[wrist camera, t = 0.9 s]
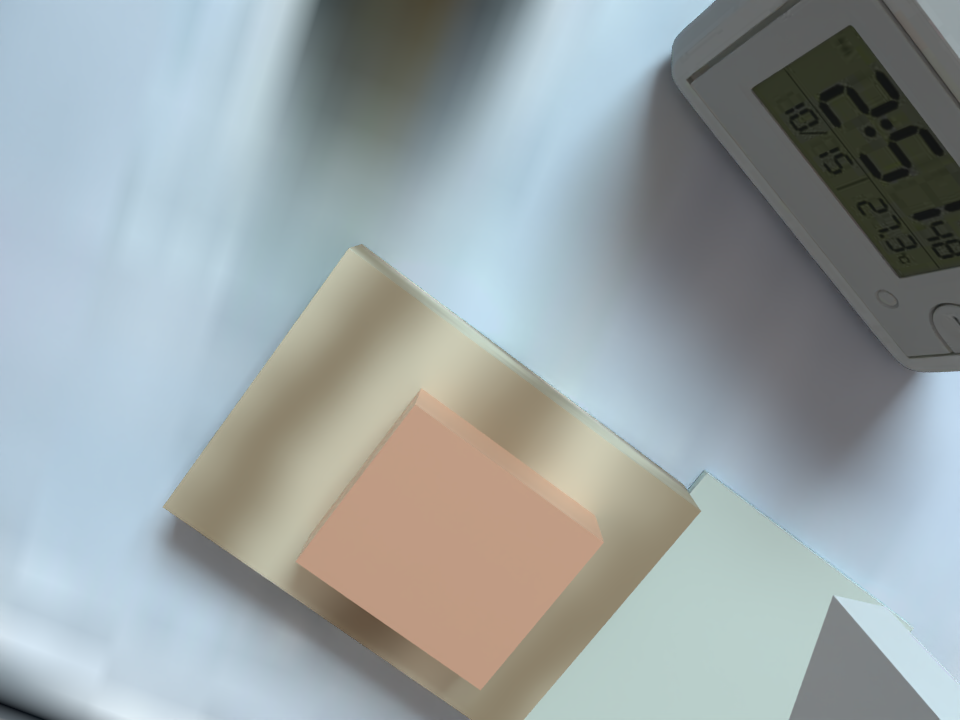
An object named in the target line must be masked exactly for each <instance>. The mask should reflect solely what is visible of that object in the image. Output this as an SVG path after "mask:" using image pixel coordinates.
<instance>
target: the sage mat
mask: <svg viewBox="0 0 960 720" xmlns="http://www.w3.org/2000/svg"><path fill="white" fill-rule="evenodd" d="M687 491H688V492H689V494H690V495H691V497H692V498H693V500H694V501H695V503H696V504H697V506H698V507H699V509H700V510H701V512H700V513H699V514H698V516H697V517H696V518H695V519H694V520H693V521H692V523H691V524H690V525H689V526H688V527H687V529H686V530H685V531H684V532H683V533H682V534H681V536H680V537H679V538H678V539H677V540H676V541H675V543H674V544H673V545H672V546H671V547H670V548H669V550H668V551H667V552H666V553H665V554H664V556H663V557H662V558H661V559H660V560H659V561H658V563H657V564H656V565H655V566H654V567H653V568H652V570H651V571H650V572H649V573H648V574H647V576H646V577H645V578H644V579H643V580H642V581H641V583H640V584H639V585H638V586H637V587H636V588H635V590H634V591H633V592H632V593H631V594H630V595H629V597H628V598H627V599H626V600H625V601H624V603H623V604H622V605H621V606H620V607H619V608H618V610H617V611H616V612H615V613H614V614H613V615H612V617H611V618H610V619H609V620H608V621H607V623H606V624H605V625H604V626H603V627H602V628H601V630H600V631H599V632H598V633H597V634H596V635H595V637H594V638H593V639H592V640H591V641H590V642H589V644H588V645H587V646H586V647H585V648H584V650H583V651H582V652H581V653H580V654H579V655H578V657H577V658H576V659H575V660H574V661H573V662H572V664H571V665H570V666H569V667H568V668H567V670H566V671H565V672H564V673H563V674H562V675H561V677H560V678H559V679H558V680H557V681H556V682H555V684H554V685H553V686H552V687H551V688H550V690H549V691H548V692H547V693H546V694H545V695H544V697H543V698H542V699H541V700H540V701H539V702H538V704H537V705H536V706H535V707H534V708H533V709H532V711H531V712H530V713H529V714H528V715H527V717H526V718H525V719H524V720H789V718H790V715H791V712H792V710H793V707H794V704H795V701H796V698H797V695H798V693H799V690H800V687H801V684H802V681H803V679H804V676H805V673H806V670H807V667H808V665H809V662H810V659H811V656H812V653H813V650H814V648H815V645H816V642H817V639H818V636H819V634H820V631H821V628H822V625H823V622H824V620H825V617H826V614H827V611H828V608H829V605H830V603H831V600H832V597H833V595H835V596H840V597H844V598H848V599H853V600H857V601H862V602H866V603H870V604H875V605H879V606H884V607H886V606H885V605H884V604H882V603H881V602H880V601H878V600H877V599H876V598H874V597H873V596H872V595H870V594H869V593H868V592H866V591H865V590H864V589H862V588H861V587H860V586H858V585H857V584H856V583H854V582H853V581H852V580H850V579H849V578H848V577H846V576H845V575H844V574H842V573H841V572H840V571H838V570H837V569H836V568H834V567H833V566H832V565H831V564H829V563H828V562H827V561H825V560H824V559H823V558H821V557H820V556H819V555H817V554H816V553H815V552H813V551H812V550H811V549H809V548H808V547H807V546H805V545H804V544H803V543H801V542H800V541H799V540H797V539H796V538H795V537H793V536H792V535H791V534H789V533H788V532H787V531H785V530H784V529H783V528H781V527H780V526H779V525H777V524H776V523H775V522H773V521H772V520H771V519H769V518H768V517H767V516H765V515H764V514H763V513H761V512H760V511H759V510H757V509H756V508H755V507H753V506H752V505H751V504H749V503H748V502H747V501H745V500H744V499H743V498H741V497H740V496H739V495H737V494H736V493H735V492H733V491H732V490H731V489H729V488H728V487H727V486H725V485H724V484H723V483H722V482H720V481H719V480H718V479H716V478H715V477H714V476H712V475H711V474H710V473H708V472H707V471H706V470H704V471H703V473H702V474H701V475H700V476H699V477H698V479H697V480H696V481H695V482H694V483H693V485H692V486H691V487H690V488H689V489H688V490H687ZM886 608H887V609H888V610H889V611H890V612H891V613H892V614H893V615H894V616H895V617H896V618H897V619H898V620H899V621H900V622H901V623H902V624H903V625H904V626H905V627H906V628H907V629H908V630H909V631H910V632H911V631H912V630H913V629H914V628H913V627H912V626H911V625H910V624H909V623H908V622H906V621H905V620H904V619H902V618H901V617H900V616H898V615H897V614H896V613H894V612H893V611H892V610H890V609H889V608H888V607H886Z"/></svg>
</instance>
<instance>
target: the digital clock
mask: <svg viewBox="0 0 960 720" xmlns="http://www.w3.org/2000/svg"><path fill="white" fill-rule="evenodd" d="M671 69H672V77H673V80H674V82H675V83H676V85H677V87H678V88H679V90H680V91H681V92H682V94H683V95H684V97H685V98H686V99H687V100H688V102H689V103H690V104H691V106H692V107H693V108H694V110H695V111H696V112H697V113H698V115H699V116H700V117H701V119H702V120H703V121H704V122H705V124H706V125H707V126H708V127H709V129H710V130H711V131H712V132H713V134H714V135H715V136H716V138H717V139H718V140H719V141H720V143H721V144H722V145H723V146H724V147H725V149H726V150H727V151H728V152H729V154H730V155H731V156H732V157H733V159H734V160H735V161H736V162H737V164H738V165H739V166H740V167H741V169H742V170H743V171H744V172H745V174H746V175H747V176H748V177H749V179H750V180H751V181H752V182H753V184H754V185H755V186H756V187H757V189H758V190H759V191H760V192H761V194H762V195H763V196H764V197H765V199H766V200H767V201H768V202H769V204H770V205H771V206H772V207H773V209H774V210H775V211H776V212H777V214H778V215H779V216H780V217H781V219H782V220H783V221H784V222H785V224H786V225H787V226H788V227H789V229H790V230H791V231H792V232H793V234H794V235H795V236H796V237H797V239H798V240H799V241H800V242H801V244H802V245H803V246H804V247H805V249H806V250H807V251H808V252H809V254H810V255H811V256H812V257H813V259H814V260H815V261H816V262H817V264H818V265H819V266H820V267H821V269H822V270H823V271H824V272H825V274H826V275H827V276H828V277H829V279H830V280H831V281H832V282H833V284H834V285H835V286H836V287H837V289H838V290H839V291H840V292H841V294H842V295H843V296H844V297H845V298H846V300H847V301H848V302H849V303H850V305H851V306H852V307H853V308H854V310H855V311H856V312H857V313H858V315H859V316H860V317H861V318H862V320H863V321H864V322H865V323H866V325H867V326H868V327H869V328H870V330H871V331H872V332H873V333H874V334H875V336H876V337H877V338H878V339H879V340H880V342H881V343H882V344H883V345H884V346H885V348H886V349H887V350H888V351H889V352H890V353H891V355H892V356H893V357H894V358H895V359H896V360H897V361H898V362H899V363H900V364H901V365H903V366H904V367H906V368H908V369H911V370H913V371H918V372H950V371H960V0H716V1H715V2H714V3H713V4H711V5H710V6H709V7H708V8H707V9H706V10H705V11H704V12H702V13H701V14H700V15H699V16H698V17H697V18H696V19H695V20H694V21H692V22H691V23H690V24H689V25H688V26H687V27H686V28H685V29H684V30H683V31H682V32H681V33H680V34H679V35H678V36H677V37H676V39H675V40H674V43H673V45H672V63H671Z"/></svg>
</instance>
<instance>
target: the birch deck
mask: <svg viewBox="0 0 960 720" xmlns="http://www.w3.org/2000/svg"><path fill="white" fill-rule="evenodd" d="M421 388H422V389H423V390H425V391H426V392H427V393H429V394H430V395H431V396H433V397H434V398H436V399H437V400H438V401H440V402H441V403H442V404H444V405H445V406H446V407H448V408H449V409H451V410H452V411H453V412H455V413H456V414H457V415H459V416H460V417H461V418H463V419H464V420H466V421H467V422H468V423H470V424H471V425H472V426H474V427H475V428H477V429H478V430H479V431H481V432H482V433H483V434H485V435H486V436H487V437H489V438H490V439H492V440H493V441H494V442H496V443H497V444H498V445H500V446H501V447H502V448H504V449H505V450H507V451H508V452H509V453H511V454H512V455H513V456H515V457H516V458H517V459H519V460H520V461H522V462H523V463H524V464H526V465H527V466H528V467H530V468H531V469H532V470H534V471H535V472H537V473H538V474H539V475H541V476H542V477H543V478H545V479H546V480H547V481H549V482H550V483H552V484H553V485H554V486H556V487H557V488H558V489H560V490H561V491H562V492H564V493H565V494H567V495H568V496H569V497H571V498H572V499H573V500H575V501H576V502H577V503H579V504H580V505H582V506H583V507H584V508H586V509H587V510H588V511H590V512H591V513H592V514H594V515H595V516H596V519H597V522H598V525H599V528H600V532H601V535H602V538H603V541H604V543H603V544H602V545H601V547H600V548H599V549H598V550H597V551H596V553H595V554H594V555H593V556H592V557H591V559H590V560H589V561H588V562H587V563H586V565H585V566H584V567H583V568H582V569H581V571H580V572H579V573H578V574H577V575H576V577H575V578H574V579H573V580H572V581H571V583H570V584H569V585H568V586H567V587H566V589H565V590H564V591H563V592H562V593H561V595H560V596H559V597H558V598H557V599H556V601H555V602H554V603H553V604H552V605H551V607H550V608H549V609H548V610H547V611H546V613H545V614H544V615H543V616H542V617H541V619H540V620H539V621H538V622H537V623H536V625H535V626H534V627H533V628H532V629H531V631H530V632H529V633H528V634H527V635H526V637H525V638H524V639H523V640H522V641H521V643H520V644H519V645H518V646H517V647H516V649H515V650H514V651H513V652H512V653H511V655H510V656H509V657H508V658H507V659H506V661H505V662H504V663H503V664H502V665H501V667H500V668H499V669H498V670H497V671H496V673H495V674H494V675H493V676H492V677H491V679H490V680H489V681H488V682H487V683H486V685H485V686H484V687H483V688H482V689H481V690H479V689H478V688H476V687H475V686H474V685H472V684H471V683H469V682H468V681H466V680H465V679H463V678H462V677H461V676H459V675H458V674H456V673H455V672H453V671H452V670H450V669H449V668H448V667H446V666H445V665H443V664H442V663H440V662H439V661H438V660H436V659H435V658H433V657H432V656H430V655H429V654H427V653H426V652H425V651H423V650H422V649H420V648H419V647H417V646H416V645H415V644H413V643H412V642H410V641H409V640H407V639H406V638H404V637H403V636H402V635H400V634H399V633H397V632H396V631H394V630H393V629H391V628H390V627H389V626H387V625H386V624H384V623H383V622H381V621H380V620H379V619H377V618H376V617H374V616H373V615H371V614H370V613H368V612H367V611H366V610H364V609H363V608H361V607H360V606H358V605H357V604H356V603H354V602H353V601H351V600H350V599H348V598H347V597H345V596H344V595H343V594H341V593H340V592H338V591H337V590H335V589H334V588H332V587H331V586H330V585H328V584H327V583H325V582H324V581H322V580H321V579H320V578H318V577H317V576H315V575H314V574H312V573H311V572H309V571H308V570H307V569H305V568H304V567H302V566H301V565H299V564H298V563H297V562H296V560H297V558H298V556H299V554H300V552H301V551H302V549H303V547H304V545H305V543H306V541H307V540H308V538H309V536H310V534H311V533H312V531H313V530H314V529H315V527H316V526H317V525H318V524H319V522H320V521H321V520H322V518H323V517H324V516H325V514H326V513H327V512H328V510H329V509H330V508H331V506H332V505H333V504H334V502H335V501H336V500H337V499H338V497H339V496H340V495H341V493H342V492H343V491H344V489H345V488H346V487H347V485H348V484H349V483H350V481H351V480H352V479H353V477H354V476H355V475H356V473H357V472H358V471H359V470H360V468H361V467H362V466H363V464H364V463H365V462H366V460H367V459H368V458H369V456H370V455H371V454H372V452H373V451H374V450H375V448H376V447H377V446H378V445H379V443H380V442H381V441H382V439H383V438H384V437H385V435H386V434H387V433H388V431H389V430H390V429H391V427H392V426H393V425H394V423H395V422H396V421H397V420H398V418H399V417H400V416H401V414H402V413H403V412H404V410H405V409H406V408H407V406H408V405H409V404H410V402H411V401H412V400H413V398H414V397H415V396H416V394H417V393H418V392H419V391H420V389H421ZM163 508H165V509H166V510H168V511H169V512H170V513H172V514H173V515H175V516H176V517H178V518H179V519H181V520H182V521H184V522H185V523H186V524H188V525H189V526H191V527H192V528H194V529H195V530H197V531H198V532H199V533H201V534H202V535H204V536H205V537H207V538H208V539H210V540H211V541H213V542H214V543H215V544H217V545H218V546H220V547H221V548H223V549H224V550H226V551H227V552H228V553H230V554H231V555H233V556H234V557H236V558H237V559H239V560H240V561H242V562H243V563H244V564H246V565H247V566H249V567H250V568H252V569H253V570H255V571H256V572H257V573H259V574H260V575H262V576H263V577H265V578H266V579H268V580H269V581H271V582H272V583H273V584H275V585H276V586H278V587H279V588H281V589H282V590H284V591H285V592H286V593H288V594H289V595H291V596H292V597H294V598H295V599H297V600H298V601H300V602H301V603H302V604H304V605H305V606H307V607H308V608H310V609H311V610H313V611H314V612H315V613H317V614H318V615H320V616H321V617H323V618H324V619H326V620H327V621H329V622H330V623H331V624H333V625H334V626H336V627H337V628H339V629H340V630H342V631H343V632H344V633H346V634H347V635H349V636H350V637H352V638H353V639H355V640H356V641H358V642H359V643H360V644H362V645H363V646H365V647H366V648H368V649H369V650H371V651H372V652H373V653H375V654H376V655H378V656H379V657H381V658H382V659H384V660H385V661H387V662H388V663H389V664H391V665H392V666H394V667H395V668H397V669H398V670H400V671H401V672H402V673H404V674H405V675H407V676H408V677H410V678H411V679H413V680H414V681H416V682H417V683H418V684H420V685H421V686H423V687H424V688H426V689H427V690H429V691H430V692H431V693H433V694H434V695H436V696H437V697H439V698H440V699H442V700H443V701H445V702H446V703H447V704H449V705H450V706H452V707H453V708H455V709H456V710H458V711H459V712H460V713H462V714H463V715H465V716H466V717H468V718H469V719H471V720H524V719H525V718H526V717H527V715H528V714H529V713H530V712H531V711H532V709H533V708H534V707H535V706H536V705H537V704H538V702H539V701H540V700H541V699H542V698H543V697H544V695H545V694H546V693H547V692H548V691H549V690H550V688H551V687H552V686H553V685H554V684H555V682H556V681H557V680H558V679H559V678H560V677H561V675H562V674H563V673H564V672H565V671H566V670H567V668H568V667H569V666H570V665H571V664H572V662H573V661H574V660H575V659H576V658H577V657H578V655H579V654H580V653H581V652H582V651H583V650H584V648H585V647H586V646H587V645H588V644H589V642H590V641H591V640H592V639H593V638H594V637H595V635H596V634H597V633H598V632H599V631H600V630H601V628H602V627H603V626H604V625H605V624H606V623H607V621H608V620H609V619H610V618H611V617H612V615H613V614H614V613H615V612H616V611H617V610H618V608H619V607H620V606H621V605H622V604H623V603H624V601H625V600H626V599H627V598H628V597H629V595H630V594H631V593H632V592H633V591H634V590H635V588H636V587H637V586H638V585H639V584H640V583H641V581H642V580H643V579H644V578H645V577H646V576H647V574H648V573H649V572H650V571H651V570H652V568H653V567H654V566H655V565H656V564H657V563H658V561H659V560H660V559H661V558H662V557H663V556H664V554H665V553H666V552H667V551H668V550H669V548H670V547H671V546H672V545H673V544H674V543H675V541H676V540H677V539H678V538H679V537H680V536H681V534H682V533H683V532H684V531H685V530H686V529H687V527H688V526H689V525H690V524H691V523H692V521H693V520H694V519H695V518H696V517H697V516H698V514H699V513H700V512H701V510H700V509H699V507H698V506H697V504H696V503H695V501H694V500H693V498H692V497H691V495H690V494H689V492H688V491H687V489H686V488H685V486H684V485H683V484H682V483H680V482H679V481H678V480H676V479H675V478H674V477H672V476H671V475H670V474H668V473H667V472H666V471H664V470H663V469H662V468H660V467H659V466H658V465H656V464H655V463H654V462H652V461H651V460H650V459H648V458H647V457H646V456H644V455H643V454H642V453H640V452H639V451H638V450H636V449H635V448H634V447H632V446H631V445H630V444H628V443H627V442H626V441H624V440H623V439H622V438H620V437H619V436H618V435H616V434H615V433H614V432H612V431H611V430H610V429H608V428H607V427H606V426H604V425H603V424H602V423H600V422H599V421H598V420H596V419H595V418H594V417H592V416H591V415H590V414H588V413H587V412H586V411H584V410H583V409H582V408H580V407H579V406H578V405H576V404H575V403H573V402H572V401H571V400H569V399H568V398H567V397H565V396H564V395H563V394H561V393H560V392H559V391H557V390H556V389H555V388H553V387H552V386H551V385H549V384H548V383H547V382H545V381H544V380H543V379H541V378H540V377H539V376H537V375H536V374H535V373H533V372H532V371H531V370H529V369H528V368H527V367H525V366H524V365H523V364H521V363H520V362H519V361H517V360H516V359H515V358H513V357H512V356H511V355H509V354H508V353H507V352H505V351H504V350H503V349H501V348H500V347H499V346H497V345H496V344H495V343H493V342H492V341H491V340H489V339H488V338H487V337H485V336H484V335H483V334H481V333H480V332H479V331H477V330H476V329H475V328H473V327H472V326H470V325H469V324H468V323H466V322H465V321H464V320H462V319H461V318H460V317H458V316H457V315H456V314H454V313H453V312H452V311H450V310H449V309H448V308H446V307H445V306H444V305H442V304H441V303H440V302H438V301H437V300H436V299H434V298H433V297H432V296H430V295H429V294H428V293H426V292H425V291H424V290H422V289H421V288H420V287H418V286H417V285H416V284H414V283H413V282H412V281H410V280H409V279H408V278H406V277H405V276H404V275H402V274H401V273H400V272H398V271H397V270H396V269H394V268H393V267H392V266H390V265H389V264H388V263H386V262H385V261H384V260H382V259H381V258H380V257H378V256H377V255H376V254H374V253H373V252H372V251H370V250H369V249H367V248H366V247H365V246H363V245H362V244H361V245H358V246H355V247H351V248H349V249H348V250H347V251H346V253H345V254H344V256H343V257H342V258H341V260H340V261H339V263H338V264H337V265H336V267H335V268H334V269H333V271H332V272H331V274H330V275H329V276H328V278H327V279H326V281H325V282H324V283H323V285H322V286H321V288H320V289H319V290H318V292H317V293H316V295H315V296H314V297H313V299H312V300H311V301H310V303H309V304H308V306H307V307H306V308H305V310H304V311H303V313H302V314H301V315H300V317H299V318H298V320H297V321H296V322H295V324H294V325H293V327H292V328H291V329H290V331H289V332H288V334H287V335H286V336H285V338H284V339H283V340H282V342H281V343H280V345H279V346H278V347H277V349H276V350H275V352H274V353H273V354H272V356H271V357H270V359H269V360H268V361H267V363H266V364H265V366H264V367H263V368H262V370H261V371H260V372H259V374H258V375H257V377H256V378H255V379H254V381H253V382H252V384H251V385H250V386H249V388H248V389H247V391H246V392H245V393H244V395H243V396H242V398H241V399H240V400H239V402H238V403H237V404H236V406H235V407H234V409H233V410H232V411H231V413H230V414H229V416H228V417H227V418H226V420H225V421H224V423H223V424H222V425H221V427H220V428H219V430H218V431H217V432H216V434H215V435H214V437H213V438H212V439H211V441H210V442H209V443H208V445H207V446H206V448H205V449H204V450H203V452H202V453H201V455H200V456H199V457H198V459H197V460H196V462H195V463H194V464H193V466H192V467H191V469H190V470H189V471H188V473H187V474H186V475H185V477H184V478H183V480H182V481H181V482H180V484H179V485H178V487H177V488H176V489H175V491H174V492H173V494H172V495H171V496H170V498H169V499H168V501H167V502H166V503H165V505H164V506H163Z"/></svg>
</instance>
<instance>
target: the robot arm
mask: <svg viewBox="0 0 960 720" xmlns="http://www.w3.org/2000/svg"><path fill="white" fill-rule="evenodd" d="M789 720H960V683H959V682H958V681H957V680H956V679H955V678H954V677H953V676H952V675H951V674H950V673H949V672H948V671H947V670H946V669H945V668H944V667H943V666H942V665H941V664H940V663H939V662H938V661H937V660H936V659H935V657H934V656H933V655H932V654H931V653H930V652H929V651H928V650H927V649H926V648H925V647H924V646H923V645H922V644H921V643H920V642H919V641H918V640H917V639H916V638H915V637H914V636H913V635H912V634H911V632H910V631H909V630H908V629H907V628H906V627H905V626H904V625H903V624H902V623H901V622H900V621H899V620H898V619H897V618H896V617H895V616H894V615H893V614H892V613H891V612H890V611H889V610H888V609H887V608H886V607H884V606H879V605H875V604H870V603H866V602H862V601H857V600H853V599H848V598H844V597H840V596H835V595H833V597H832V600H831V603H830V605H829V608H828V611H827V614H826V617H825V620H824V622H823V625H822V628H821V631H820V634H819V636H818V639H817V642H816V645H815V648H814V650H813V653H812V656H811V659H810V662H809V665H808V667H807V670H806V673H805V676H804V679H803V681H802V684H801V687H800V690H799V693H798V695H797V698H796V701H795V704H794V707H793V710H792V712H791V715H790V718H789Z"/></svg>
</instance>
